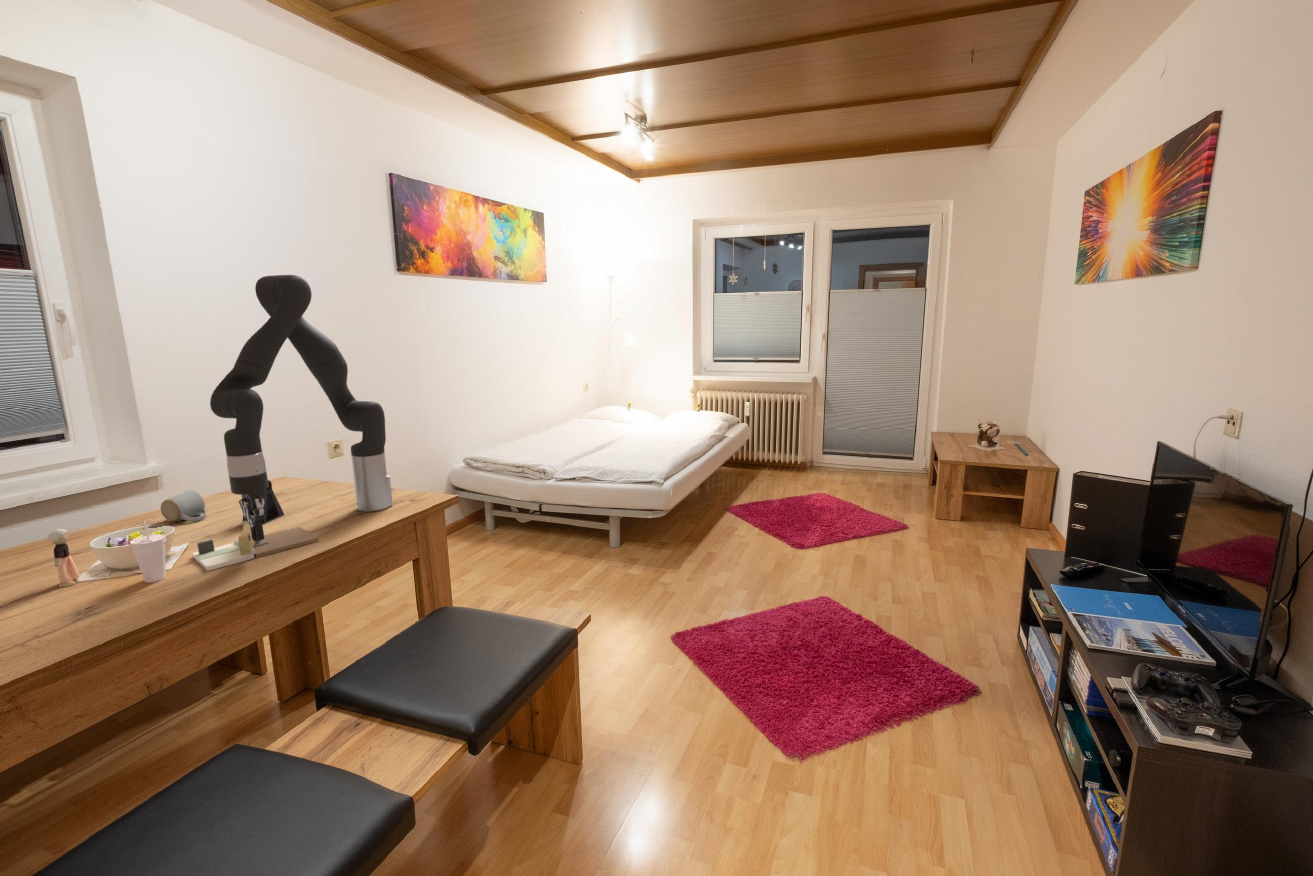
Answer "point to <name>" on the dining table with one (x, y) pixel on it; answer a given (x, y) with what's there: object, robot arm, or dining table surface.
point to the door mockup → (269, 545)
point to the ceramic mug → (184, 507)
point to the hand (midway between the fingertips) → (258, 539)
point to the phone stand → (270, 504)
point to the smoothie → (150, 555)
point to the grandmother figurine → (63, 558)
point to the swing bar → (246, 540)
